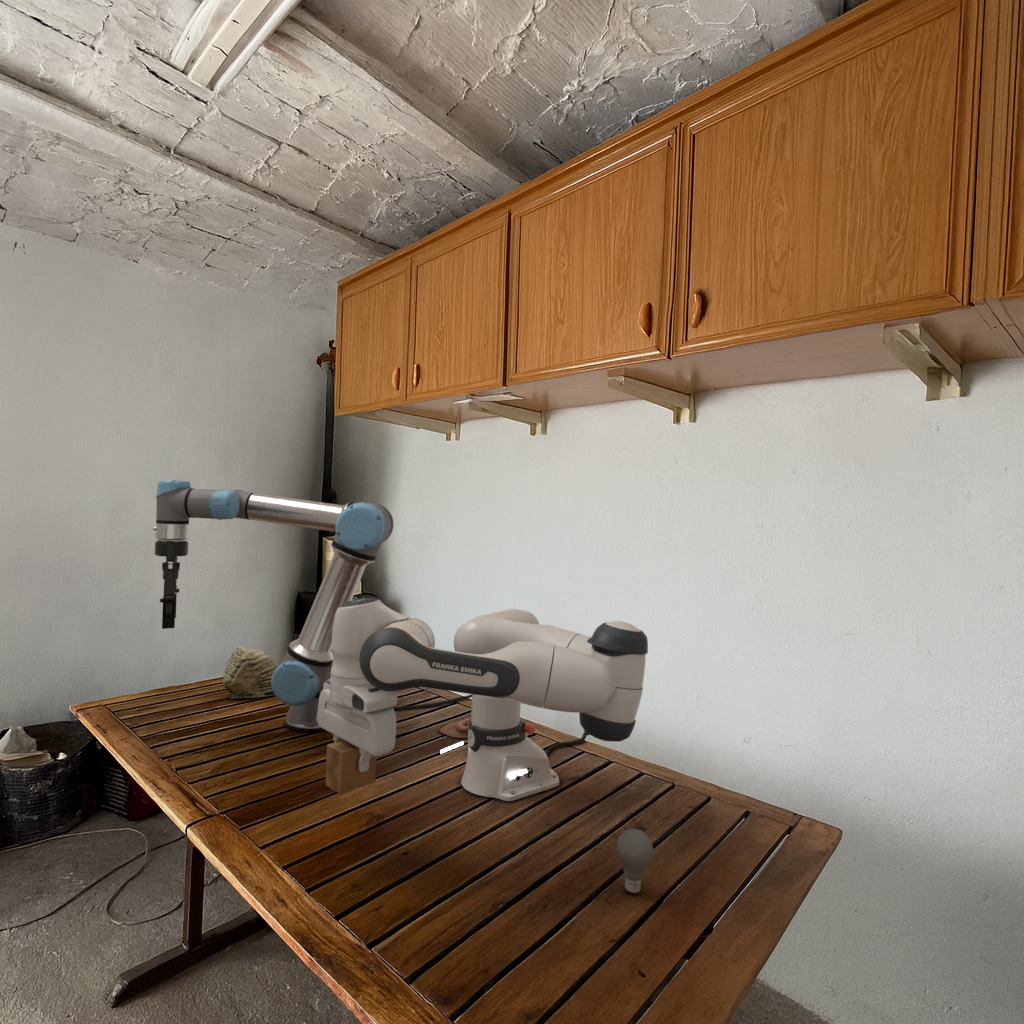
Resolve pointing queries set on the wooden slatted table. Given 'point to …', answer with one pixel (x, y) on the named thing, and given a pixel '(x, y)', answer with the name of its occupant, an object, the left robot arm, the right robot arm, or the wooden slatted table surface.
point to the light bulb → (634, 857)
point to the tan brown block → (346, 768)
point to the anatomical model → (457, 729)
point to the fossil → (249, 673)
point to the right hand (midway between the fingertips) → (352, 764)
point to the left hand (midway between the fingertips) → (169, 623)
